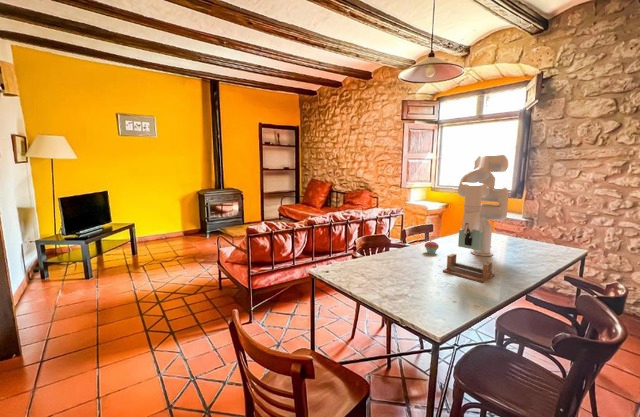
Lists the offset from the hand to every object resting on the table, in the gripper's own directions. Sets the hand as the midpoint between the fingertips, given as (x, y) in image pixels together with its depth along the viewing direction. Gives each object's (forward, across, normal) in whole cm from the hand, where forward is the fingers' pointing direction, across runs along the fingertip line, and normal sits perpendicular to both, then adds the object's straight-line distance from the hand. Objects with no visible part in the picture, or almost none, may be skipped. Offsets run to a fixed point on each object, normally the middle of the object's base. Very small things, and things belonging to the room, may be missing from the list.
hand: (470, 244), depth 152 cm
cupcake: (+16, -20, -32) cm, 41 cm away
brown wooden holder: (+16, 0, 0) cm, 16 cm away
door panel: (+2, 0, 0) cm, 2 cm away
